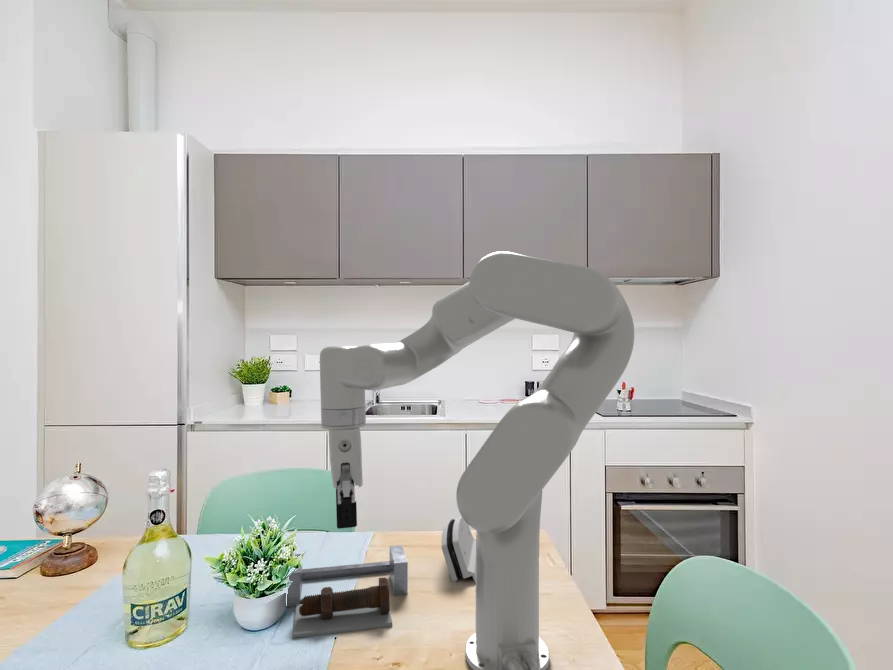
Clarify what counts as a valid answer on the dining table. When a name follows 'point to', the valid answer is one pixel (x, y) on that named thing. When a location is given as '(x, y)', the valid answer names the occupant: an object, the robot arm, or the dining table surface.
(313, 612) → the bolt
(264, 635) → the dining table surface
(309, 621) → the mat
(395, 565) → the vise
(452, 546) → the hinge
